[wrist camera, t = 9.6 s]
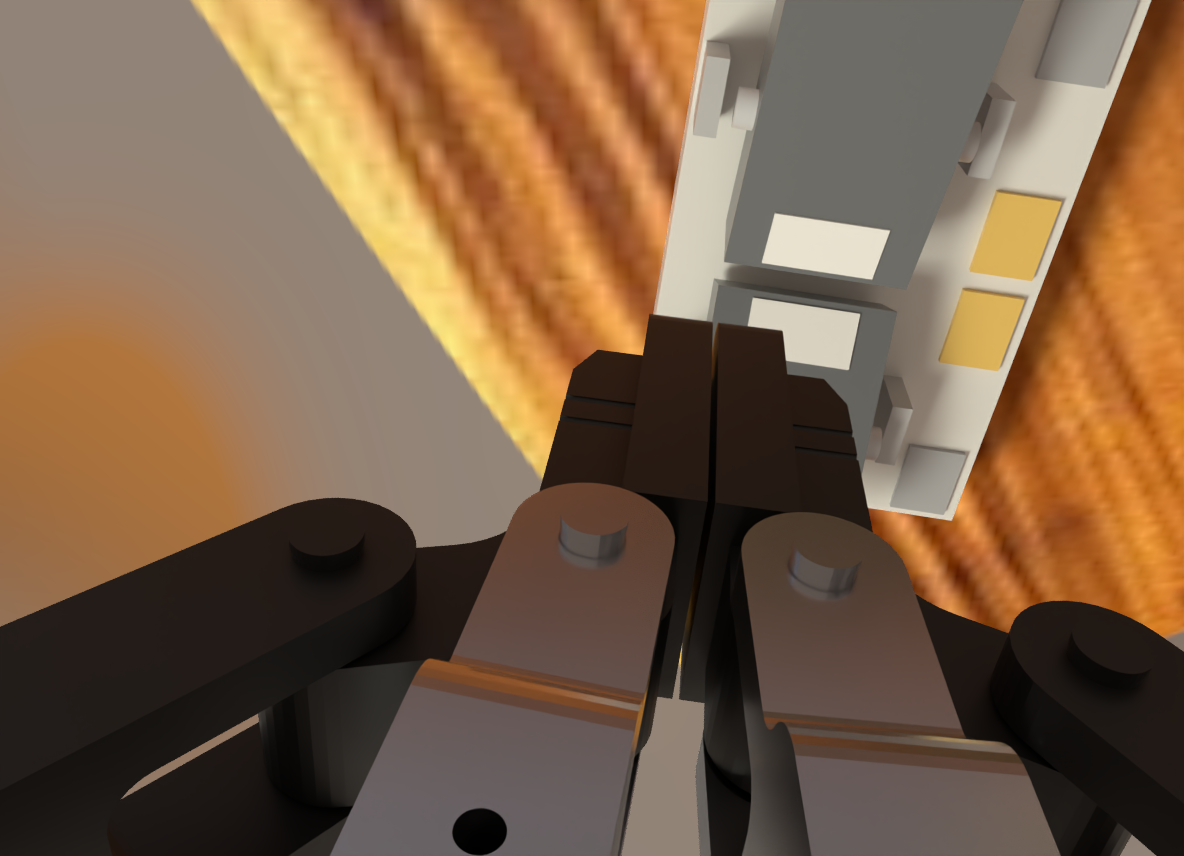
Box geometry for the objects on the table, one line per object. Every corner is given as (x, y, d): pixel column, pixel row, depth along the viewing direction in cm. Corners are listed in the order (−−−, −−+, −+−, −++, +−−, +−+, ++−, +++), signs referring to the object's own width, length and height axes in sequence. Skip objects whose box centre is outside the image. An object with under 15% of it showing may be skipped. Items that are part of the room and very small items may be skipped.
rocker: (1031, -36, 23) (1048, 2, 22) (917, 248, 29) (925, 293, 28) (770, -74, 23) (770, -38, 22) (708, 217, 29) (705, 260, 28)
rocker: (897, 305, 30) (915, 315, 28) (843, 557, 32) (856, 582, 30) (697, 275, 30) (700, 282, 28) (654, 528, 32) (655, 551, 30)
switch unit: (1117, -36, 28) (1192, -9, 24) (934, 471, 37) (964, 557, 33) (722, -94, 28) (725, -77, 24) (634, 425, 37) (625, 504, 33)
